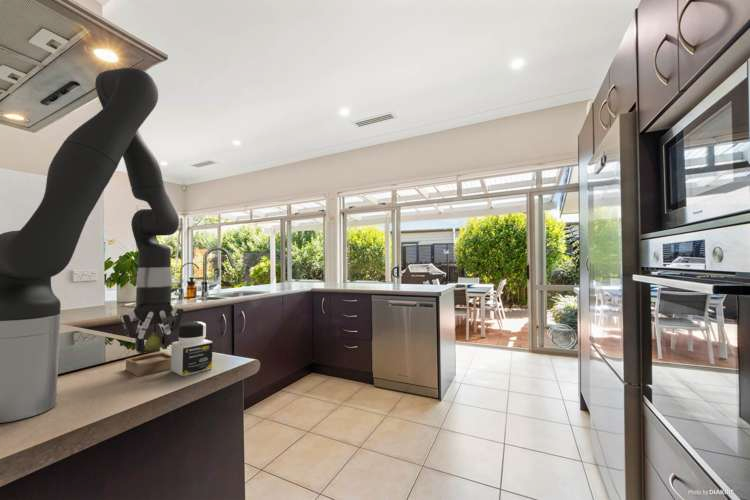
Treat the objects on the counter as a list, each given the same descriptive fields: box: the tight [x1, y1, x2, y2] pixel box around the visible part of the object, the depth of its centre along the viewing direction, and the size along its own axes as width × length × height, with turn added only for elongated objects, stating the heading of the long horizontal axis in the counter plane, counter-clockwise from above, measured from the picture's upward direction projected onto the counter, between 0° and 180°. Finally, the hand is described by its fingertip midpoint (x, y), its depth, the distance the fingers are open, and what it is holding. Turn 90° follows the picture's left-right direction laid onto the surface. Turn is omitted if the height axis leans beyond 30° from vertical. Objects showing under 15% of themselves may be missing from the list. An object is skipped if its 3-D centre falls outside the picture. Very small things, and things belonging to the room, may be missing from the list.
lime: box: [144, 332, 163, 354], centre depth 83 cm, size 4×5×5 cm
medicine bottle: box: [170, 321, 213, 377], centre depth 82 cm, size 7×7×12 cm
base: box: [125, 351, 171, 378], centre depth 83 cm, size 8×8×3 cm
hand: (152, 350), depth 83 cm, fingers closed on lime, 4 cm apart
